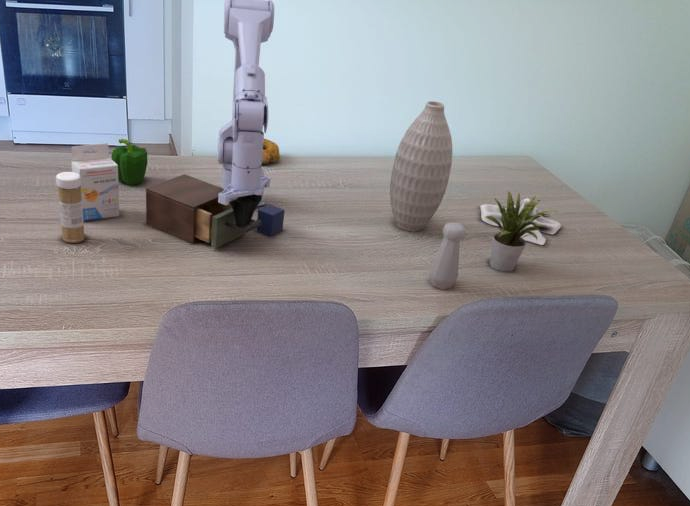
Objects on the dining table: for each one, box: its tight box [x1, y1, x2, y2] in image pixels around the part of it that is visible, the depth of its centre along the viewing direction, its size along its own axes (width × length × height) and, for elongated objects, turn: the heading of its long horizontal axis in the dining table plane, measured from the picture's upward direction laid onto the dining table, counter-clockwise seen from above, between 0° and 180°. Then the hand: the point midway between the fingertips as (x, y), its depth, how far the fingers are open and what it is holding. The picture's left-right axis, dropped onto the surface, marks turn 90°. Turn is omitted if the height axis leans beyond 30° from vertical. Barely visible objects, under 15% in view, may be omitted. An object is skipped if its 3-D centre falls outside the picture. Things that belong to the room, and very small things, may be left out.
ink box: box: [70, 142, 120, 222], centre depth 150 cm, size 8×5×15 cm, turn 123°
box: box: [255, 203, 285, 237], centre depth 155 cm, size 4×4×5 cm
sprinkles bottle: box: [55, 171, 86, 244], centre depth 140 cm, size 5×5×14 cm
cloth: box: [479, 198, 562, 246], centre depth 172 cm, size 22×19×6 cm
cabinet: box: [145, 173, 224, 245], centre depth 152 cm, size 13×12×8 cm
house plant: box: [486, 190, 558, 272], centre depth 148 cm, size 14×14×16 cm
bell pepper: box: [111, 138, 148, 186], centre depth 169 cm, size 8×8×10 cm
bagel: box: [261, 138, 281, 165], centre depth 192 cm, size 10×11×5 cm
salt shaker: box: [428, 221, 467, 290], centre depth 140 cm, size 6×6×13 cm
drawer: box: [195, 200, 262, 249], centre depth 149 cm, size 17×11×7 cm, turn 56°
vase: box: [389, 100, 453, 232], centre depth 158 cm, size 13×13×28 cm
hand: (242, 227), depth 146 cm, fingers closed, pressing on drawer
